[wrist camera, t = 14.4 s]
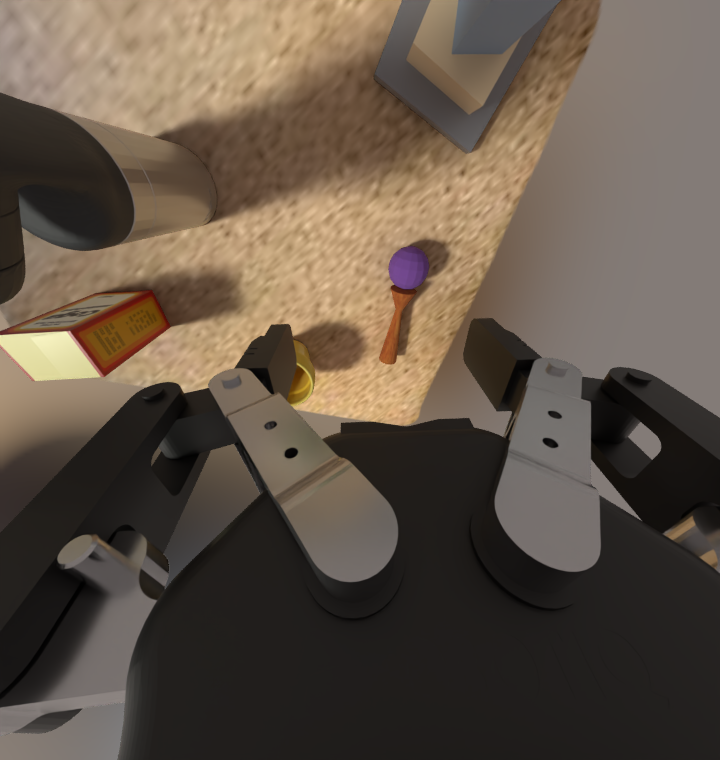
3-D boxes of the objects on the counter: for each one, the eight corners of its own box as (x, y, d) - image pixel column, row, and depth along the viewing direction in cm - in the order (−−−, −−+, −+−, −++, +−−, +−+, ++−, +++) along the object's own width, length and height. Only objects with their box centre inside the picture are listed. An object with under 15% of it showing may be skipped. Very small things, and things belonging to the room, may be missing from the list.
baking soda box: (118, 330, 47) (29, 382, 34) (94, 293, 43) (-15, 337, 30) (170, 326, 47) (102, 378, 34) (152, 290, 43) (66, 332, 30)
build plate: (373, 78, 30) (377, 58, 26) (451, -129, 23) (476, -206, 19) (466, 153, 34) (483, 148, 30) (556, -3, 27) (597, -41, 23)
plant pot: (324, 373, 54) (319, 404, 46) (274, 378, 54) (262, 410, 46) (312, 326, 48) (305, 353, 40) (257, 333, 48) (239, 361, 40)
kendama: (370, 365, 49) (391, 248, 36) (374, 348, 53) (394, 239, 40) (402, 371, 48) (434, 256, 35) (403, 353, 53) (432, 246, 40)
